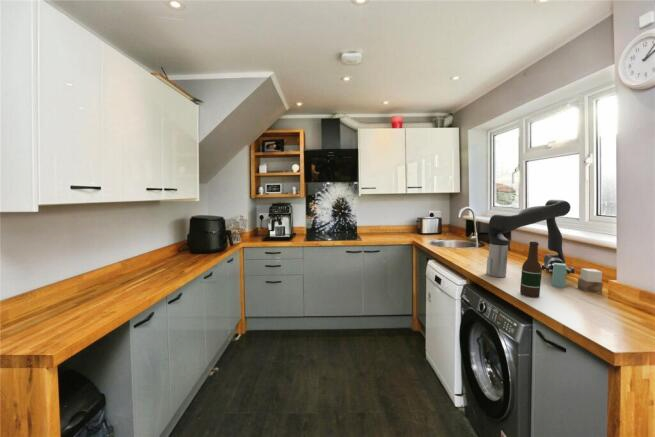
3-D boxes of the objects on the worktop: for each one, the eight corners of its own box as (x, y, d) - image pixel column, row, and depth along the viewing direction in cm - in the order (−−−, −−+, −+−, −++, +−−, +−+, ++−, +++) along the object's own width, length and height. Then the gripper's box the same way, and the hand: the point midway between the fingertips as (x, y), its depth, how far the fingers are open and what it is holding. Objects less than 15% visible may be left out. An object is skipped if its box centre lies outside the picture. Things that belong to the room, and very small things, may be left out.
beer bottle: (543, 298, 148) (548, 243, 146) (525, 297, 149) (530, 243, 146) (533, 292, 156) (537, 241, 154) (516, 292, 156) (520, 240, 154)
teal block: (552, 286, 169) (554, 264, 168) (551, 283, 173) (553, 262, 173) (564, 287, 167) (566, 265, 166) (563, 285, 171) (565, 263, 170)
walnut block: (584, 291, 161) (586, 281, 161) (577, 287, 168) (578, 277, 168) (601, 293, 160) (602, 282, 159) (593, 289, 167) (594, 279, 166)
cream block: (586, 281, 161) (587, 271, 161) (580, 278, 167) (581, 268, 167) (601, 282, 160) (602, 272, 159) (594, 279, 166) (595, 269, 165)
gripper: (541, 257, 191) (542, 261, 177) (572, 260, 184) (576, 265, 170) (540, 270, 191) (541, 276, 177) (571, 274, 184) (574, 280, 170)
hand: (558, 271), depth 174 cm, fingers open, 8 cm apart
